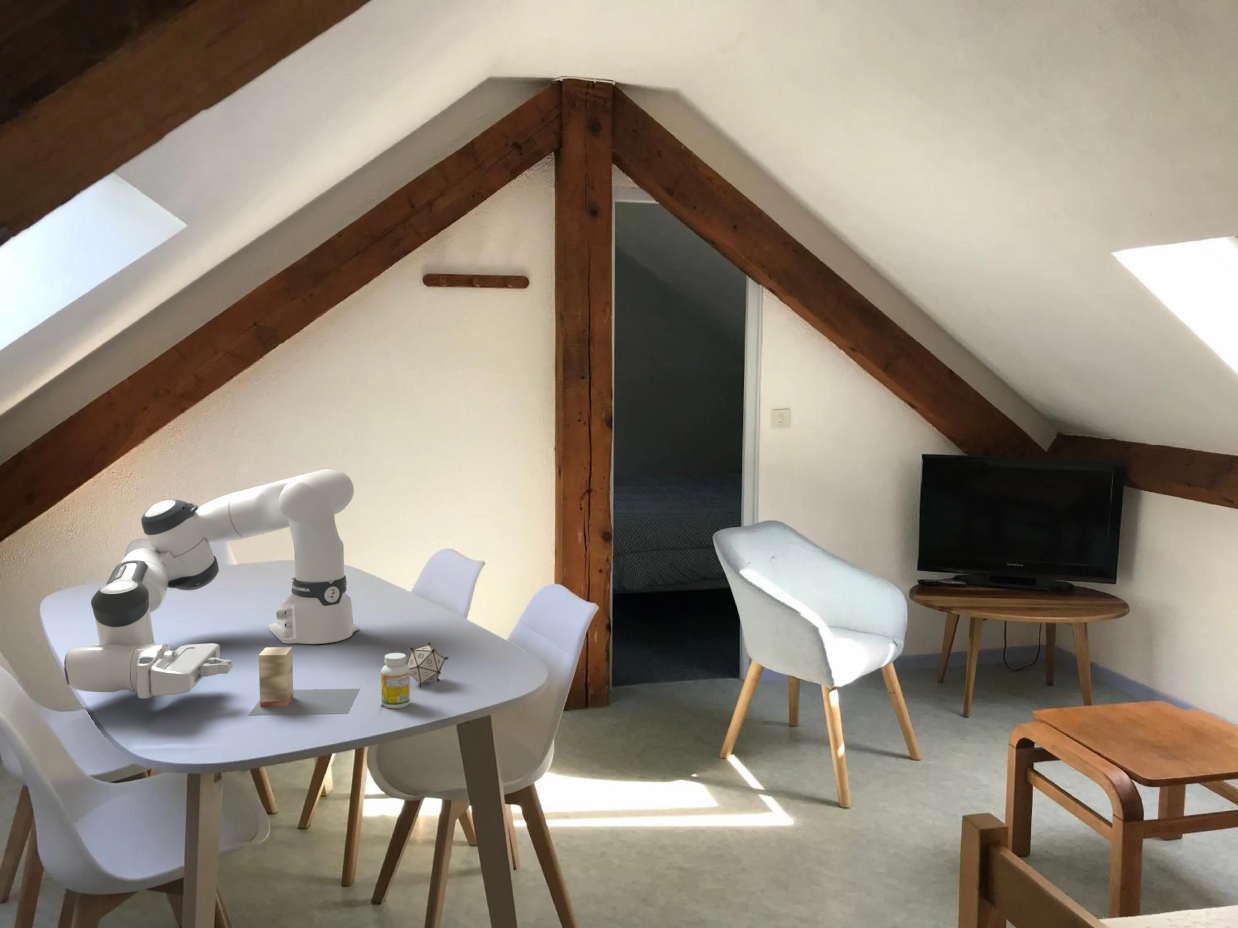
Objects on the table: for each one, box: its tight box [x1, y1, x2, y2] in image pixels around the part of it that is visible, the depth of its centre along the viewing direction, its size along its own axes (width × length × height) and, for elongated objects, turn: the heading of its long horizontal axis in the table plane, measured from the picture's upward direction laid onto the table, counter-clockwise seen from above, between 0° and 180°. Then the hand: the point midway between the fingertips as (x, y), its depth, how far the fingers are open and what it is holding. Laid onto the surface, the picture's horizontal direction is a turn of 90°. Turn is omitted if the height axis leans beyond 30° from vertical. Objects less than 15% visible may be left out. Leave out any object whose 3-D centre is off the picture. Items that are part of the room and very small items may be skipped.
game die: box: [406, 641, 449, 689], centre depth 213 cm, size 9×8×10 cm
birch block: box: [258, 646, 294, 707], centre depth 199 cm, size 5×5×10 cm
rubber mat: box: [248, 688, 361, 717], centre depth 200 cm, size 18×14×1 cm
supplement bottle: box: [380, 652, 411, 709], centre depth 200 cm, size 5×5×10 cm
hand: (230, 666), depth 198 cm, fingers closed
